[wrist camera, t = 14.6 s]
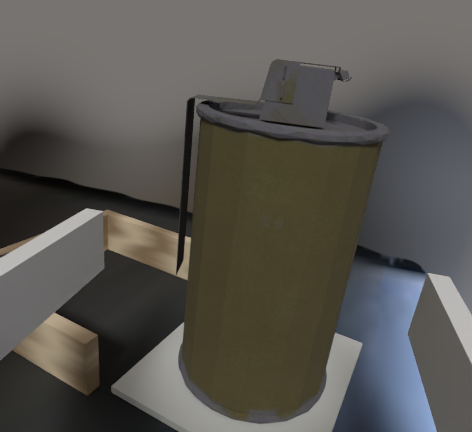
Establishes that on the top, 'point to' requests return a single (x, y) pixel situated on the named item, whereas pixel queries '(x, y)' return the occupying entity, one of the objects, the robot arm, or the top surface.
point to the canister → (271, 241)
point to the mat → (211, 422)
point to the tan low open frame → (78, 338)
